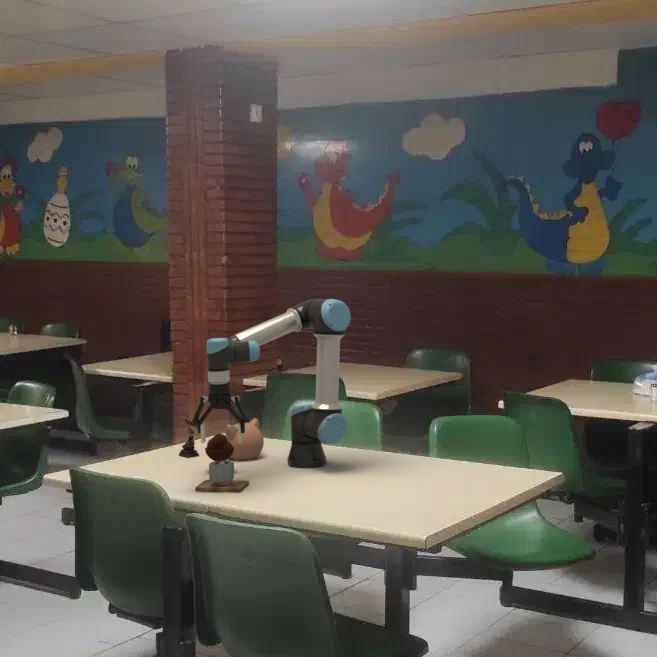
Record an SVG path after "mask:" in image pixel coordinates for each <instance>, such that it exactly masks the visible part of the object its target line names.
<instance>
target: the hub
mask: <svg viewBox="0 0 657 657" xmlns="http://www.w3.org/2000/svg"><path fill="white" fill-rule="evenodd" d="M220 462H224V463H225V464H222V465H220V464H219V463H220ZM234 466H235V465H234V461H231V460H225V461H214V460H213V461H211V462H210V463H208V473H209V474H208V476H209V478H208V480H209V481H212V482H217V483H224V482H230V481H232V480H235V467H234Z"/></svg>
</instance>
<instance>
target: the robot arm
mask: <svg viewBox="0 0 657 657" xmlns="http://www.w3.org/2000/svg"><path fill="white" fill-rule="evenodd" d="M351 314H352V313H351V311H350V309H349V306H347V305H346V303H345V302H344V301H342V300H340V299H334V298H311V299H308V300H306V301H303V302H300V303H298V304H296V305H294V306H292V307H290V308H287V310H286V312H284V313H282V314H280V315H278V316H275V317H273V318H271V319H268V320H266V321H264V322H261V323H259V324H256V325H254V326H252V327H249V328H247V329H245V330H242V331H240V332H238V333H236V334H233V335H231V336H227V337H226V338H225V337H213V338H208V340H207V341H206V353H205V354H206V358H207V359H206V360H207V361H206V362H207V381H208V396H206V395H202V396H200V397H199V404H198V407H197V409H196V411H195V414H194V415H193V418H192V420H191V422H193V424H194V423H197V424H198V429H197V432H198V434H200V443H201V444H205V443H206V442H207V440H206V423H203V422H204V421H205V419H206V418H207V417H208V416H209V415H210V413H211V412H212V411H213V409H214V410H219V409H220V410H226V411H228V412H229V413H230V414H231V415H232V416H233V417H234V419H236V421H237V422H238V423H239V424H238V423H237V424H238V438H239V443H241V442H243V434H242V433H244V432H245V423H249V422H251V420H250V416H249V415H248V413H247V411H246V409H245V408H244V406H243V404H242V402H241V398H240V395H236V396H232V395H231V383H230V381H231V378H230V374H231V373H230V365H234V364H241V363H242V364H244V363H253V362H256V361H258V360H259V358H260V356H261V349H260V346H263V345H265V344H267V343H269V342H271V341H275V340H276V339H278V338H280V337H284V336H285V335H287V334H290V333H292V332H295V333H299V332H301V331H303V330H308V329H310V330H312V329H313V336H314V337H315V338H316V339H317V340H316V342H317V344H316V368H315V369H316V371H315V374H316V375H315V377H316V378H315V401H314V403H313V404H305V405H298V406H293V407H292V408H291V409H290V434H291V445H290V448H289V451H288V452H289V453H288V456H287V466H289V467H293V468H299V469H300V468H301V469H307V468H309V469H311V468H318V467H322V466H323V467H324V466H325V465H326V464H327V457H326V453H325V450H324V447H323V445H322V443H323V444H330V445H331V444H332V445H333V444H336V443H339V442H340V441H342V439H343V438H344V437H345V436H346V434H347V430H348V421H347V419H346V418H345V416H344V415H343V407H342V405H340V404H339V388H340V387H339V386H340V384H339V383H340V356H341V354H340V353H341V352H340V351H341V339H342V338H343V337H345V330H346V329H347V328H348V326H349V325H350V324H351V318H352V316H351ZM207 401H208V402H209V404H210V405H209V406H208V408H207V409H206V410H205V412H204V413H203V414H202V415H201V413H202V411H203V409H204V407H205V404H206V403H207ZM232 401H233V403H235V406H236V407H237V409H238V410H236V409H235V407H234V406H233V405H232V403H231V402H232ZM238 411H239V412H238ZM200 416H201V417H200Z"/></svg>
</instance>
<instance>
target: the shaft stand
mask: <svg viewBox="0 0 657 657" xmlns="http://www.w3.org/2000/svg"><path fill="white" fill-rule="evenodd" d="M219 464H220V465H222V464H225V463H224V462H220V463H219ZM249 485H250V480H245V479H244V480H243V479H241V480H240V479H239V480H238V479H234V480H232V481H230V482H224V483H217V482H212V481H209V479H204V480H203V481H202V482H200V483H199V484H198V485H196V486H195V487H194V488H195V491H201V492H200V493H223V492H240V493H242V491H243V489H244V488H245V489H246V488H247V487H248V486H249ZM245 489H244V490H245Z"/></svg>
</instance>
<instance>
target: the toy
mask: <svg viewBox="0 0 657 657" xmlns="http://www.w3.org/2000/svg"><path fill="white" fill-rule="evenodd" d="M238 424H239V422H238V423H235V424H229V423H228V424H227V425H226V427H225V434H224V435H225V436H226V437H227V441H228V442H230V443H231V444H232V446H233V447H234V451H233V454H232V455H231V456H230V457H229V458H231V459H232V460H233V461H251V460H255V459H256V458H258V457H259V456H260V454H261V452H262V451H263V449H264V444H265V442H264V435H263V433H262V431H261V430H260V421H259V419H258V418H256V417H253V419H252V420H250V421H248V422H246V423H245V432H244V433H242V434H243V442H241V443H239V438H238Z"/></svg>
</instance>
